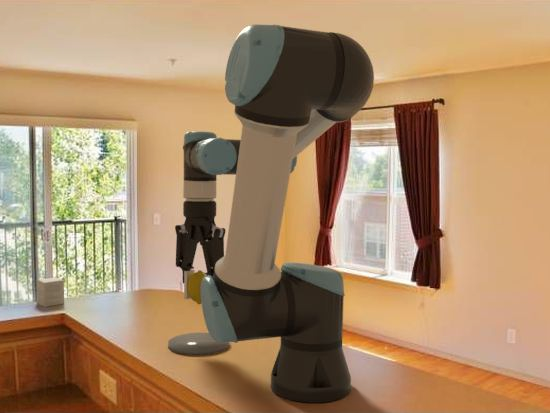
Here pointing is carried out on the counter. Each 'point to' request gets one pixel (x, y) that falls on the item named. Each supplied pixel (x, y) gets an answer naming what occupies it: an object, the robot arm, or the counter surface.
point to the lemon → (195, 286)
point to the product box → (50, 291)
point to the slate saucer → (196, 344)
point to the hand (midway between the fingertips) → (199, 299)
